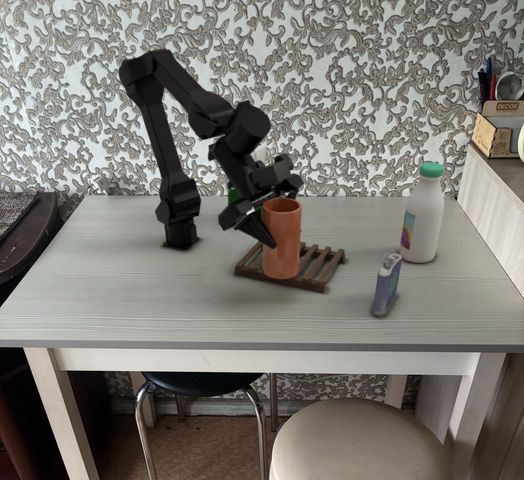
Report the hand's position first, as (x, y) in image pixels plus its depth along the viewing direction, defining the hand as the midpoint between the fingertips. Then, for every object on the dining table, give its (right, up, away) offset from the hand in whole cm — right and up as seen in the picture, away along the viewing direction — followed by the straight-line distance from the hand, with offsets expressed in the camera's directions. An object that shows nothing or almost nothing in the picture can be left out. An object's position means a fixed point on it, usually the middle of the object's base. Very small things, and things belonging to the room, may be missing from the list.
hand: (287, 240), depth 98 cm
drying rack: (+2, -2, +18) cm, 18 cm away
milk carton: (-9, +13, +37) cm, 40 cm away
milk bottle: (+30, +1, +21) cm, 36 cm away
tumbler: (-1, -5, +5) cm, 7 cm away
